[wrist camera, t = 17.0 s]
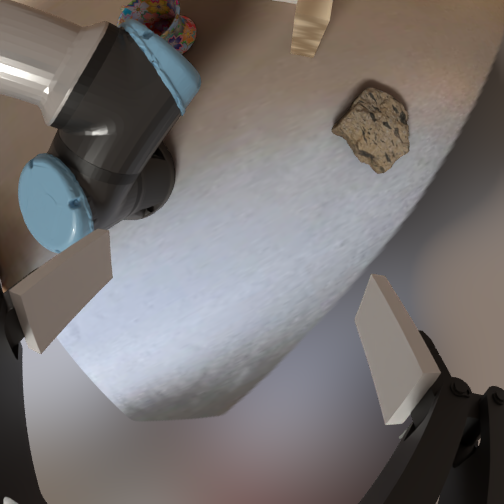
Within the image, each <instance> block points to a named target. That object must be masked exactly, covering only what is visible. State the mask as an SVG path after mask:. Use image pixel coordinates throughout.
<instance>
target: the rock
mask: <svg viewBox="0 0 504 504" xmlns="http://www.w3.org/2000/svg"><path fill="white" fill-rule="evenodd" d="M407 120H408V113H407V112H406V110H405V109H404V106H403V105H402V104H401V103H400V102H398V101H397V100H396V99H395V98H393V96H391V95H389V94H387V93H386V92H383V91H380V90H378V89H374V88H367V89H365V90H364V91H363V92H362V93H361V94H360V95H359V96H358V97H357V98H356V99H355V101H354V102H353V103H352V105H351V108H350V109H349V110H348V112H347V113H346V114H345V115H344V116H343V117H342V118H341V119H340V120H339V121H338V122H337V123H336V124H335V125H334V126H333V128H332V132H333V134H335V135H338V136H341V137H343V138H344V139H345V140H347V143H348V144H349V146H350V148H351V149H352V150H353V152H354V155H355V156H356V157H357V158H358V159H359V160H360V162H362V163H363V162H364V163H366V164H369V165H370V166H371V168H372V169H373V170H374V171H375V172H376V173H377V174H379V173H384V172H386V171H387V170H389V169H390V168H391V167H392V165H393V164H394V162H395V161H396V160H398V159H399V158H400V157H401V156H403V155H405V154H407V153H408V152H409V140H408V136H409V133H408V132H409V131H408V125H407V123H406V122H407Z"/></svg>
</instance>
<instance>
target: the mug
mask: <svg viewBox="0 0 504 504" xmlns="http://www.w3.org/2000/svg"><path fill="white" fill-rule="evenodd" d="M120 9H121V10H122V11H123V12H122V13H121V15H120V17H119V19H118V23H117V27H119V28H120V25H121V23H122V22H125V21H126V20H128V19H134V20H137V21H139V22H140V23H142V24H143V25H145V26H146V27H147V28H148V29H150V30H151V31H153V32H154V33H155V34H157V35H159V36H160V37H161V38H163V39H164V40H165V41H166V42H168V43H169V44H170V45H171V46H172V47H174V48H175V49H176V50H177V51H178V52H179V53H180V54H181V55H182V54H183V53H185V52H186V51H187V50H188V49H189V48H190V47H191V46H192V44H193V43H194V41H195V38H196V26H195V24H194V22H193V21H192V20H191V19H189V18H188V17H185V16H182V15H180V5H179V2H178V0H133V1H132V2H130V3H129V4H128V5H127V6H122V7H121V8H120Z"/></svg>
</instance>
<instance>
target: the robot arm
mask: <svg viewBox="0 0 504 504" xmlns="http://www.w3.org/2000/svg"><path fill="white" fill-rule="evenodd" d="M200 86H201V78H200V75H199V73H198V71H197V70H196V69H195V68H194V67H193V65H192V64H191V63H190V62H189V61H188V60H187V59H186V58H185V57H184V56H183V55H181V54H180V53H179V52H178V51H177V50H176V49H175V48H174V47H172V46H171V45H170V44H169V43H168V42H166V41H165V40H164V39H163V38H161V37H160V36H159V35H157V34H155V33H154V32H153V31H151V30H150V29H148V28H147V27H146V26H145V25H143V24H142V23H140V22H139V21H137V20H134V19H128V20H126V21H125V22H122V23H121V25H120V28H119V27H117V26H115V25H113V24H111V23H109V22H107V21H103V22H100V23H97V24H94V25H91V26H86V27H81V26H79V25H77V24H74V23H72V22H70V21H67V20H65V19H62V18H60V17H57V16H55V15H52V14H50V13H47V12H44V11H42V10H39V9H36V8H33V7H30V6H27V5H24V4H21V3H18V2H15V1H11V0H0V94H3V95H6V96H10V97H13V98H16V99H20V100H23V101H26V102H29V103H32V104H35V105H38V106H39V107H40V109H41V111H42V114H43V117H44V120H45V123H46V125H48V126H52V127H55V128H58V130H57V133H56V135H55V137H54V139H53V141H52V144H51V146H50V148H49V150H48V152H47V153H43V154H38V155H37V156H36V157H35V158H34V159H32V160H30V161H29V162H28V163H27V164H26V165H25V167H24V168H23V170H22V173H21V175H20V179H19V186H18V197H19V204H20V209H21V212H22V214H23V218H24V221H25V223H26V225H27V227H28V229H29V230H30V232H31V234H32V235H33V236H34V238H35V239H36V240H37V241H38V242H39V243H40V244H41V245H42V246H44V247H45V248H47V249H48V250H50V251H52V252H55V253H59V254H58V255H56V256H55V257H53V258H52V259H51V260H49V261H48V262H46V263H45V264H44V265H42V266H41V267H39V268H37V269H35V270H33V271H32V272H31V273H29V274H28V275H27V276H25V277H24V278H23V280H20V281H19V282H17V283H16V284H15V285H13V286H12V287H11V288H10V289H8V290H7V291H6V292H5V293H3V291H2V288H1V284H0V504H47V502H46V501H45V500H44V498H43V496H42V494H41V492H40V490H39V486H38V482H37V478H36V474H35V470H34V465H33V461H32V456H31V451H30V446H29V440H28V433H27V427H26V418H25V408H24V396H23V376H22V345H21V343H20V341H21V340H22V339H23V338H24V337H25V340H26V342H27V345H28V347H29V348H30V349H32V350H34V351H36V352H38V353H39V354H42V352H43V351H44V350H45V349H46V348H47V347H48V346H49V345H50V343H51V342H52V341H53V340H54V339H55V338H56V337H57V335H58V334H59V333H60V332H61V331H62V330H63V329H64V328H65V327H66V326H67V324H68V323H69V322H70V321H71V320H72V319H73V318H74V317H75V316H76V315H77V314H78V313H79V312H80V311H81V309H82V308H83V307H84V306H85V305H86V304H87V303H88V302H89V301H90V300H91V299H92V298H93V297H94V296H95V295H96V294H97V293H98V292H99V291H100V290H101V289H102V288H103V287H104V286H105V285H106V284H107V283H108V282H109V281H110V280H111V279H112V278H113V276H112V266H111V253H110V236H109V230H108V229H109V228H111V227H112V226H114V225H116V224H117V223H119V222H120V221H122V220H139V219H143V218H146V217H148V216H150V215H152V214H153V213H155V212H156V211H157V210H159V209H160V208H161V207H162V206H163V205H164V204H165V203H166V201H167V200H168V198H169V197H170V194H171V192H172V189H173V186H174V180H175V169H174V163H173V160H172V157H171V155H170V152H169V151H168V149H167V147H166V146H165V145H164V144H163V142H162V140H163V139H164V138H165V136H166V135H167V133H168V132H169V131H170V129H171V128H172V126H173V125H174V124H175V122H176V121H177V120H178V118H179V117H180V116H181V115H182V116H183V114H184V113H185V109H186V107H187V106H188V104H189V103H190V102H191V100H192V99H193V98H194V96H195V95H196V93H197V92H198V91H199V89H200ZM355 324H356V326H357V330H358V333H359V336H360V339H361V342H362V345H363V348H364V351H365V354H366V358H367V361H368V364H369V368H370V371H371V374H372V378H373V381H374V385H375V388H376V392H377V395H378V399H379V403H380V406H381V410H382V414H383V418H384V422H385V424H386V425H389V424H401V423H403V422H404V421H405V420H406V419H407V417H408V416H409V415H410V414H411V416H412V420H413V422H412V424H411V425H410V426H409V427H408V428H407V429H406V430H405V431H404V432H403V434H402V435H401V436H400V437H399V438H400V439H401V438H402V437H403V438H402V439H401V441H400V443H399V445H398V446H397V448H396V450H395V451H394V453H393V455H392V456H391V458H390V459H389V461H388V463H387V464H386V466H385V467H384V469H383V470H382V472H381V473H380V475H379V476H378V478H377V479H376V480H375V482H374V483H373V485H372V486H371V488H370V489H369V490H368V492H367V493H366V494H365V496H364V497H363V498H362V500H361V501H360V502H359V503H358V504H435V503H436V502H437V499H438V497H439V495H440V497H439V501H438V504H504V391H503V389H501V388H499V387H496V386H491V387H489V389H488V390H487V391H486V392H485V394H484V395H479V394H474V393H472V392H471V389H470V388H469V386H468V385H467V384H466V383H465V382H464V381H463V380H461V379H459V378H456V377H451V375H450V373H449V371H448V369H447V367H446V365H445V364H444V362H443V360H442V358H441V356H440V355H439V353H438V351H437V349H436V348H435V346H434V344H433V342H432V340H431V339H430V338H429V337H428V336H427V335H426V334H425V333H424V332H423V331H418V330H417V328H416V326H415V324H414V323H413V321H412V319H411V317H410V316H409V314H408V312H407V311H406V309H405V307H404V306H403V304H402V303H401V301H400V299H399V298H398V296H397V294H396V293H395V291H394V290H393V288H392V286H391V285H390V283H389V282H388V280H387V279H386V277H385V276H382V275H375V274H371V276H370V279H369V282H368V285H367V287H366V290H365V293H364V296H363V299H362V301H361V304H360V307H359V309H358V312H357V315H356V317H355ZM480 438H481V441H480V444H479V446H478V440H479V439H480Z"/></svg>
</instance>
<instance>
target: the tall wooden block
mask: <svg viewBox="0 0 504 504" xmlns="http://www.w3.org/2000/svg"><path fill="white" fill-rule="evenodd" d="M332 2H333V0H298V1H297V7H296V12H295V20H294V28H293V36H292V45H291V54H297V55H302V56H307V57H311V58H313V57H314V55H315V53H316V50H317V48H318V46H319V43H320V41H321V39H322V37H323V34H324V32H325V30H326V27H327V25H328V23H329V21H330V15H331V9H332Z"/></svg>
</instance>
